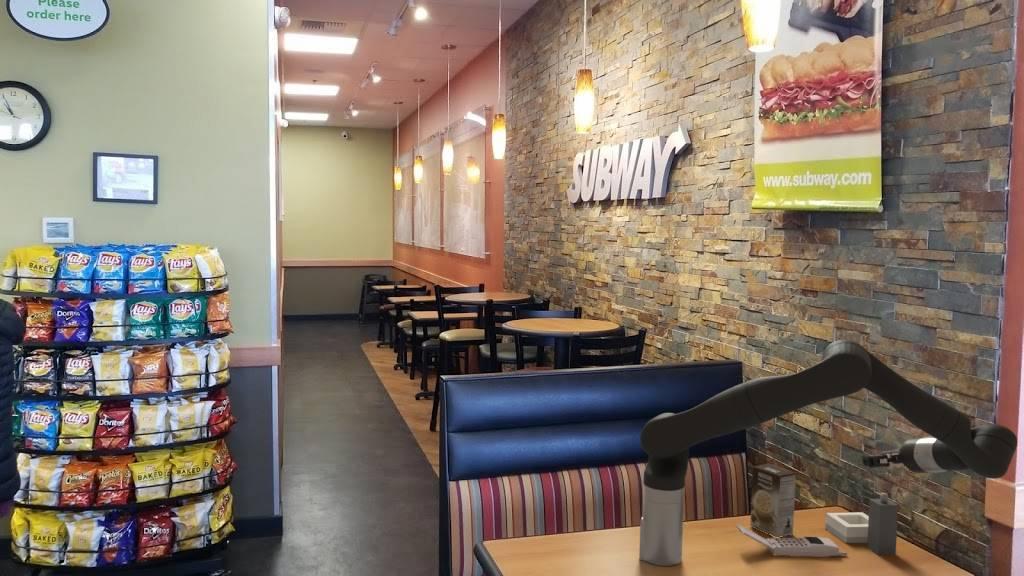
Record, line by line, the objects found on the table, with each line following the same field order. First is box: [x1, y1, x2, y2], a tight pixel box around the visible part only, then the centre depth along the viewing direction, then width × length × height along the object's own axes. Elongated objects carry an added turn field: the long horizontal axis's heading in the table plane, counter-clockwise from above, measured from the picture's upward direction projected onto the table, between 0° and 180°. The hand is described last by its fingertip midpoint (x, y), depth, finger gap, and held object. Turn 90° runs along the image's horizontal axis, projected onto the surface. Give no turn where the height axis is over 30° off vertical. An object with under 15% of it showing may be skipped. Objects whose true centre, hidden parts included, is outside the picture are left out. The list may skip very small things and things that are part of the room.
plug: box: [866, 492, 899, 556], centre depth 189 cm, size 4×4×14 cm
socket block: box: [824, 511, 869, 544], centre depth 199 cm, size 10×10×4 cm
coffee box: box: [749, 463, 797, 537], centre depth 201 cm, size 9×6×16 cm
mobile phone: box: [736, 523, 848, 558], centre depth 187 cm, size 6×6×25 cm
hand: (878, 458), depth 186 cm, fingers open, 8 cm apart
